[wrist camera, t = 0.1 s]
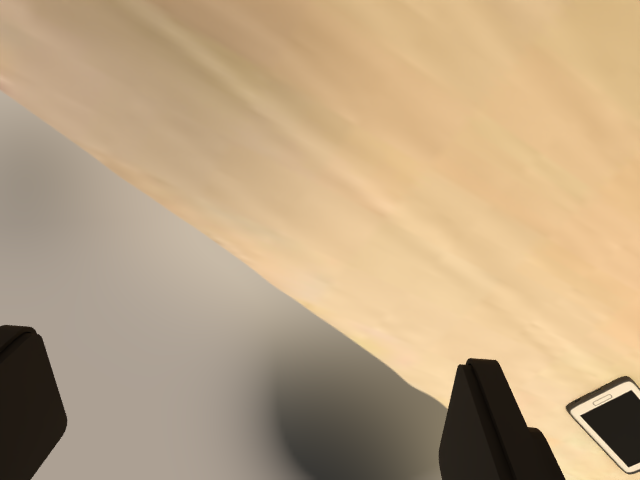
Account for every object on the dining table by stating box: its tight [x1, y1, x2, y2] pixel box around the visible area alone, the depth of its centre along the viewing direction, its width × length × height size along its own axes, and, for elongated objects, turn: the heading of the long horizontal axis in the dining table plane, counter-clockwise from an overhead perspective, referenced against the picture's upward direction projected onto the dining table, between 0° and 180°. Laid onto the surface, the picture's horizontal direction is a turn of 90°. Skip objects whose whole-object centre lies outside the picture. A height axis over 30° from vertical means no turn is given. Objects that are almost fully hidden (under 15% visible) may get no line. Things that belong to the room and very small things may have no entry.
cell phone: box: [566, 376, 640, 474], centre depth 50 cm, size 8×15×1 cm, turn 44°
